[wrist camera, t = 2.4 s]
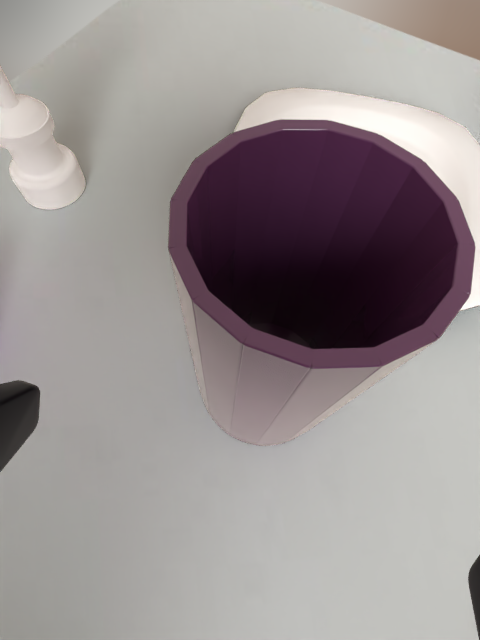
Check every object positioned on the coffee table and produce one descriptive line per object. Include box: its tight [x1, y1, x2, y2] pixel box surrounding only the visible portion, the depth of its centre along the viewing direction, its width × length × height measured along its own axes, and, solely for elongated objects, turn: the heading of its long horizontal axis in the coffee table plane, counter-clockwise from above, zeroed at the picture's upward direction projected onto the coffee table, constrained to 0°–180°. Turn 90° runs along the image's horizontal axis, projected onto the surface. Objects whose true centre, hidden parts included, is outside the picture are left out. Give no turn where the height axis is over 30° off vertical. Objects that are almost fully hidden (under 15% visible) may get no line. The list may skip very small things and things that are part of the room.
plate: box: [234, 88, 480, 311], centre depth 25 cm, size 18×18×2 cm
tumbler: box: [168, 119, 476, 446], centre depth 14 cm, size 7×7×13 cm
